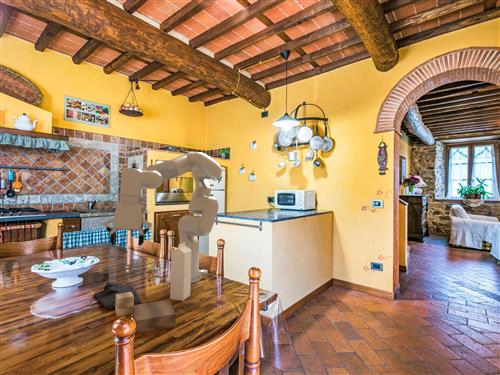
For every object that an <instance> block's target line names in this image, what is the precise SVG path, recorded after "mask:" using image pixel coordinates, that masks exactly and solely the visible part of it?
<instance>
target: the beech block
mask: <svg viewBox="0 0 500 375" xmlns="http://www.w3.org/2000/svg"><path fill="white" fill-rule="evenodd" d="M133 305H134V295H133V294H132V292H126V293H121V294H116V304H115V308H114V311H115V312H114V313H115V314H116V316H117V317H118V316H119V317H123V316H127V315H133Z"/></svg>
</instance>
